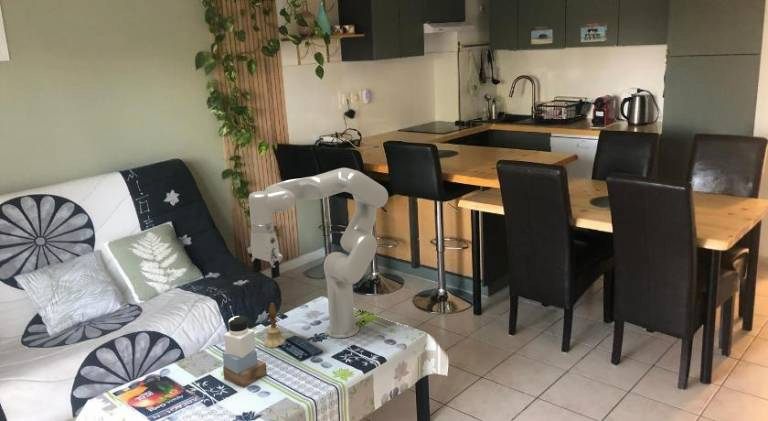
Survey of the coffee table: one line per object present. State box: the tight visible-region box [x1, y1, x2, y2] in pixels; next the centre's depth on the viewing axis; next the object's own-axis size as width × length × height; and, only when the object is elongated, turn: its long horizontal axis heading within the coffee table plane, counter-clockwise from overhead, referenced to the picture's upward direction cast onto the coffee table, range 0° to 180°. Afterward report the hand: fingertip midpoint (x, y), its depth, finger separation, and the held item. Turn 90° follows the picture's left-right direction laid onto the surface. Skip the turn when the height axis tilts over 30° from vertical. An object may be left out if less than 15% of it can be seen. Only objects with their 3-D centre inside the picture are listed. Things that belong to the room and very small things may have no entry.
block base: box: [222, 358, 268, 389], centre depth 221 cm, size 10×10×5 cm
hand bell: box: [263, 302, 286, 349], centre depth 243 cm, size 8×8×16 cm
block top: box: [222, 349, 258, 374], centre depth 219 cm, size 8×8×5 cm
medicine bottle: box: [223, 315, 256, 358], centre depth 217 cm, size 7×7×12 cm
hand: (266, 274), depth 229 cm, fingers open, 9 cm apart
